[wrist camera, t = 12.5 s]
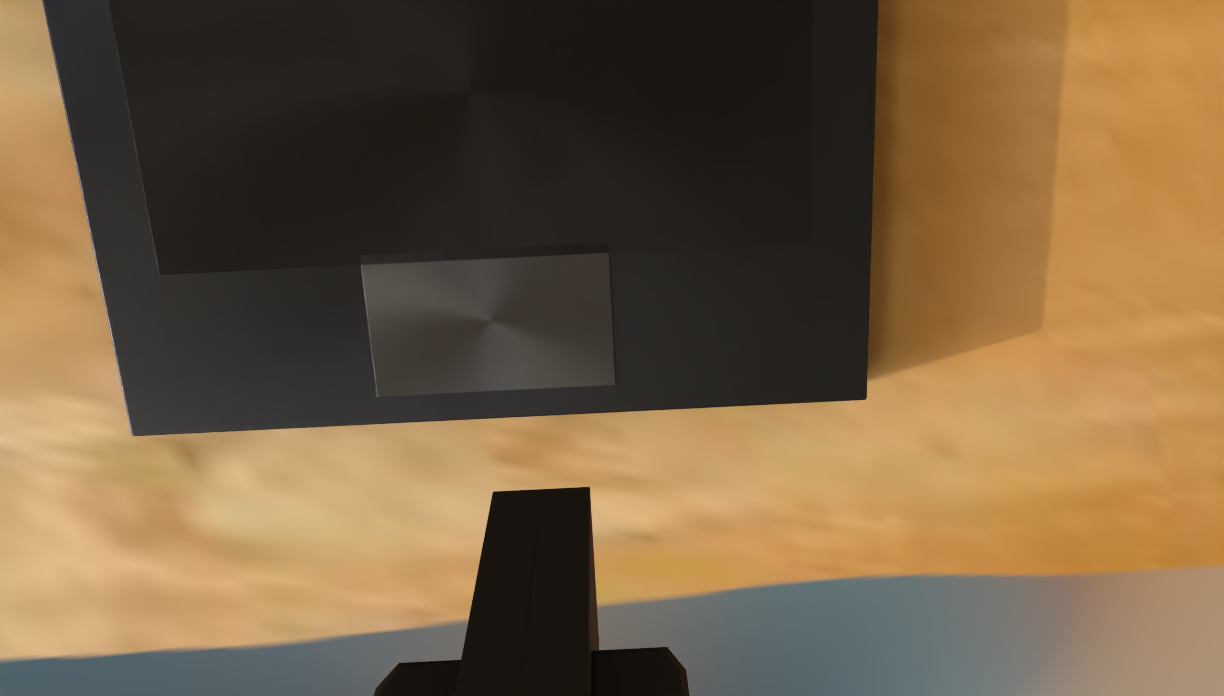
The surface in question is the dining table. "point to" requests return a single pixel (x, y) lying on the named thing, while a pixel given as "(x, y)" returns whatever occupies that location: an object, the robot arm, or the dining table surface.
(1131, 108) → the dining table surface
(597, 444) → the dining table surface
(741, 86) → the laptop
